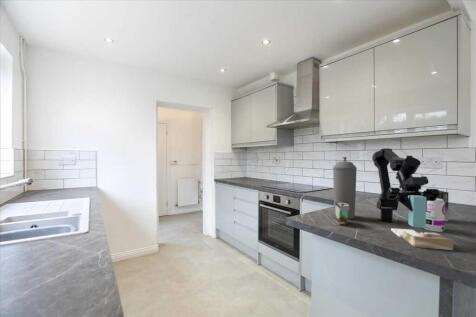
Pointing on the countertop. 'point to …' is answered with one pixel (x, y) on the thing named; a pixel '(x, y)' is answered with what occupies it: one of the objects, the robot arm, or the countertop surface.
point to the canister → (345, 185)
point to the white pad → (411, 232)
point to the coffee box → (445, 198)
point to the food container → (341, 213)
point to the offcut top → (433, 235)
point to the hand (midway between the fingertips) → (418, 211)
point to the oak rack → (429, 241)
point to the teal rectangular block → (417, 211)
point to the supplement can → (435, 215)
